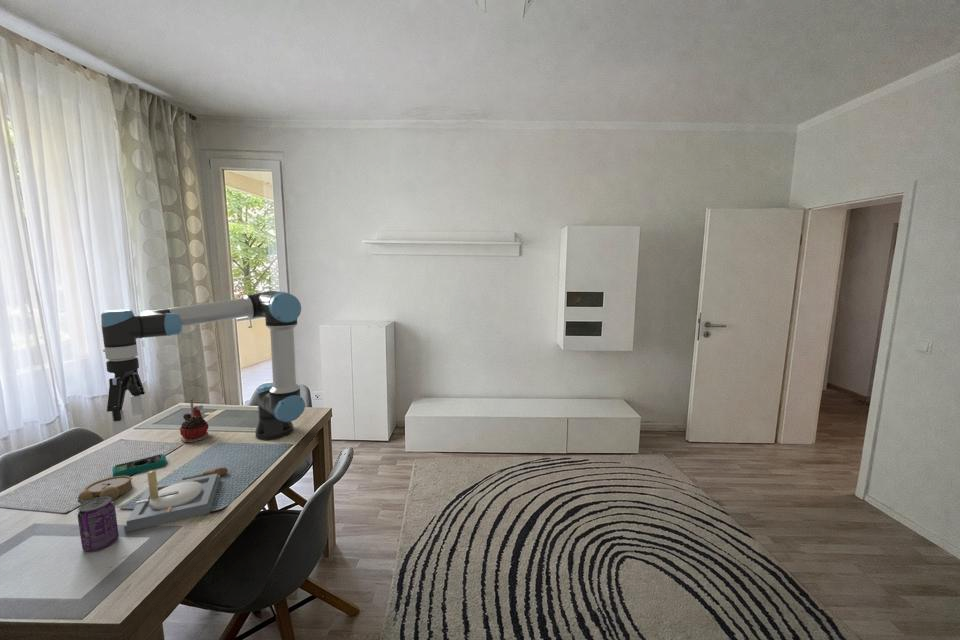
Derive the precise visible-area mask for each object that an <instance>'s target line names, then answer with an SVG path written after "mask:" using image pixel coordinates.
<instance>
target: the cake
mask: <svg viewBox="0 0 960 640" xmlns="http://www.w3.org/2000/svg"><path fill="white" fill-rule="evenodd" d="M193 400H194V399H193V398H190V399H189V402H190V403H189V404H190V412H191V413H184V414H183V416H182V417H183V419H184V422H182V423H181V427H180V428H179V432H180V436H182V437H181V438H180V439H181V442H182V443H192V442H197V441H200V440H204V439H206V438H207V437H208V436H209V431H208V429H209V423H208V422H207V421H206V419H204V416H203V415H202V412H201V410H203V408H204V406H203V404H199V405H196V406H194V401H193Z"/></svg>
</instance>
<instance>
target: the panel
mask: <svg viewBox="0 0 960 640" xmlns="http://www.w3.org/2000/svg"><path fill="white" fill-rule="evenodd" d="M188 481H194V482H199V483H200V484H201V485H202V493H201V494H200V495H199V496H198V497H197V498H196V499H194V500H193V501H191V502H189V503H187V504H185V505H183V506H179V507H174V508H172V506H171V507H168V509H165V510H155V509H152V508H151V507H150V492H149V486H148V487H146V490H145V491H144V493H143V494H142V496H141V497H140V499H139V500H136V502H135V504H136V505H135V507H134V509H133V510H132V512H130V515H129V517H128V518H127V520H126V522H125V524H124V525H123V531H124V533H129V532H133V531H137V530H142V529H146V528H150V527H151V528H152V527H154V526H155V527H156V526H158V525H163V524H164V525H165V524H168V523H173V522H176V521H177V522H178V521H181V520H185V519H190V518H194V517H199V516H203V515H207V514H210V513H211V510H212V507H213V505H214V500H215V498H216V494H217V492H216V491H218V489H217V488H219V486H220V485H219V484H220V482H221V476H220V475H218V473H217V474H212V475H207V476H201V477H196V478H191V479H186V480H182V479H181V480H177V481H176V480H175V481H171V482H166V483H160V484H157V486H158V491H159V490H161V489H163V488H165V487H168V486H170V485H173V484H177V483H181V482H188Z"/></svg>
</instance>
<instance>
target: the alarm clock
mask: <svg viewBox="0 0 960 640" xmlns="http://www.w3.org/2000/svg"><path fill="white" fill-rule="evenodd" d="M132 480H133V477H132V476H130V475H128V476H116V477H113V476H112V477H106V478H103V479H100V480H98V481H95V482H92V483H90V484H89V485H87V486H85V488H84V490H82V491H81V492H80V493H79V494H78V497H77V502H78V503H79V504H80V505H82V504H84V503H86V502H88V501H90V500H93V499H96V498H99V497H111V499H112V500H111V501H113V502H114V501H115V500H116V499H118V497H119V496H121V495H124V494H125V493H128V492H129V491H131V490H132V487H133V486H132V485H133V484H132Z"/></svg>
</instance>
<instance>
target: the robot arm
mask: <svg viewBox="0 0 960 640" xmlns="http://www.w3.org/2000/svg"><path fill="white" fill-rule="evenodd" d="M301 313H302V305H301V301H300V300H299V299H298V298H297V297H296V296H295V295H293V294H291V293H289V292H286V291H277V290H268V291H263V292H260V293H259V292H258V293H253V294H246V295H244V296H243V297H242V298H237V299H236V298H234V299H229V300H220V301H213V302H206V303H205V302H204V303H199V304H197V303H196V304H193V305H192V304H190V305H183V306H176V307H175V306H174V307H168V308H161V309H146V310H143V311H141V312H139V314H134V311H133V310H132V309H110V310H105V311H103V312H102V313H101V314H100V319H101V320H100V321H101V322H100V323H101V326H100V327H101V331H102V334H101V335H102V341H103V347H104V349H102V352H103V353H104V354H105V359H106V360H107V361H106V362H105V365H106V371H107V373H110V374H114V377H111V378H109V381H108V383H109V389H108V396H107V397H108V398H107V408H106V412H111V418H112V426H113V431H114V432H117V431H125V430H127V424H126V423H127V422H126V415H125V409H124V407H123V406H124V402H125V398H126V397H125V396H126V392H127V390H128V392H129V393H130V395H131V396H130V398H129V399H130V405H131V414H132V416H137V415H138V416H139V415H144V407H143V397H142V395H145V394H146V392H145V388H144V386H143V383H142V381H141V378H140V375H139V370H138V369H140V363H139V357H138V356H139V353H138V345H137V344H138V343H137V339H143V338H146V339H147V338H154V337H156V338H158V337H167V336H168V337H171V336H174V335H175V336H176V335H179V334H181V333H182V330H183V328H184V327H189V326H195V325H203V324H208V323H213V322H221V321H226V320H232V319H238V318H245V317H248V318H249V319H254V318H265V319H264V321H265V326H266V327H267V328H268V329H269V330H270V348H271V349H270V351H271V352H270V353H271V368H272V369H271V371H272V382H268V383H265V384H261V385H259V386H258V387H257V388H256V399H257V413H258V421H257V425H256V428H255V431H254V434H255V438H256V439H257V440H261V441H272V440H277V439H282V438H285V437H288V436H289V435H291V434H292V433H293V432H292V431H294V424H293V421H296V420H297V419H299V418H300V417H301V415H302V414H303V413H304V412H305V408H306V402H305V400H304V398H303V396H301V386H300V385H299V384H297V381H296V379H297V378H296V358H295V357H296V356H295V334H294V332H295V331H294V329H295V327H296V326H297V325H298V318H299V317H300V315H301ZM291 432H292V433H291ZM288 434H289V435H288ZM284 436H285V437H284Z"/></svg>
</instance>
